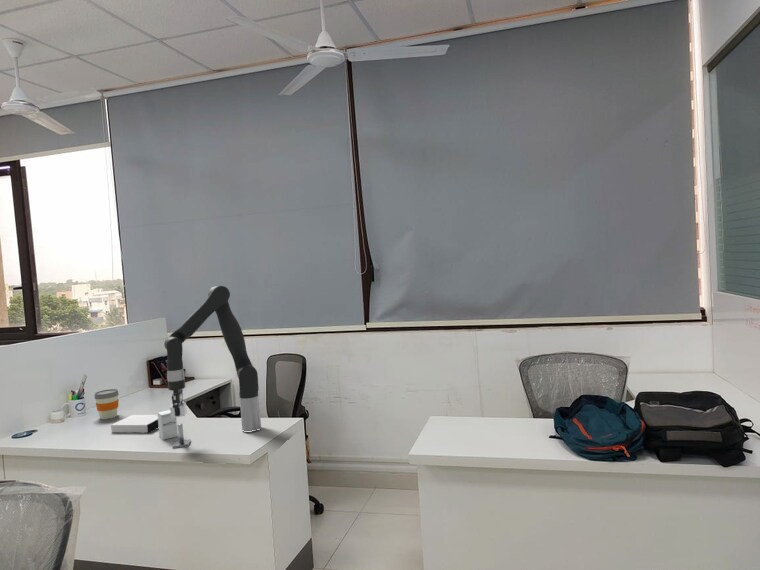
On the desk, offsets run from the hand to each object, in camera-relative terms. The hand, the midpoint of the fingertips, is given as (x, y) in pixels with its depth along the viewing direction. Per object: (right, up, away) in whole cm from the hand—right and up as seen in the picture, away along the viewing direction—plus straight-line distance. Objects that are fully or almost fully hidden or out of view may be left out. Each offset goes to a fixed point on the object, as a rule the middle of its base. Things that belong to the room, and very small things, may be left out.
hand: (179, 413), depth 248 cm
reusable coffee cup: (-64, -17, +59) cm, 89 cm away
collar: (0, -1, 0) cm, 1 cm away
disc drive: (-33, -16, +34) cm, 50 cm away
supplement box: (-11, -15, +15) cm, 24 cm away
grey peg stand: (+1, -15, +1) cm, 15 cm away
